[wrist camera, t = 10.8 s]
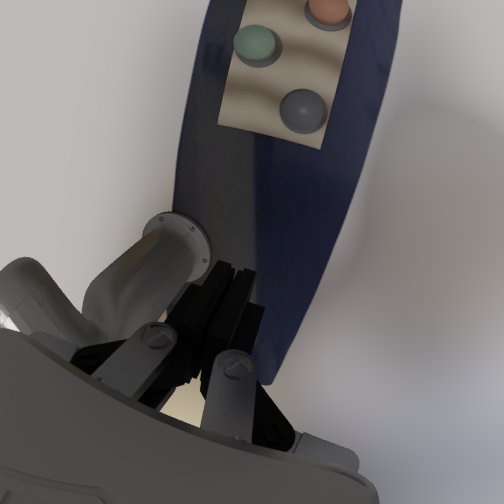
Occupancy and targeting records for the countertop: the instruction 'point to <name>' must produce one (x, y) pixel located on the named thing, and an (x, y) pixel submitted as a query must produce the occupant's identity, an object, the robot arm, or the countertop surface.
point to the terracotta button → (329, 10)
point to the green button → (255, 43)
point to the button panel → (285, 70)
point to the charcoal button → (302, 110)
